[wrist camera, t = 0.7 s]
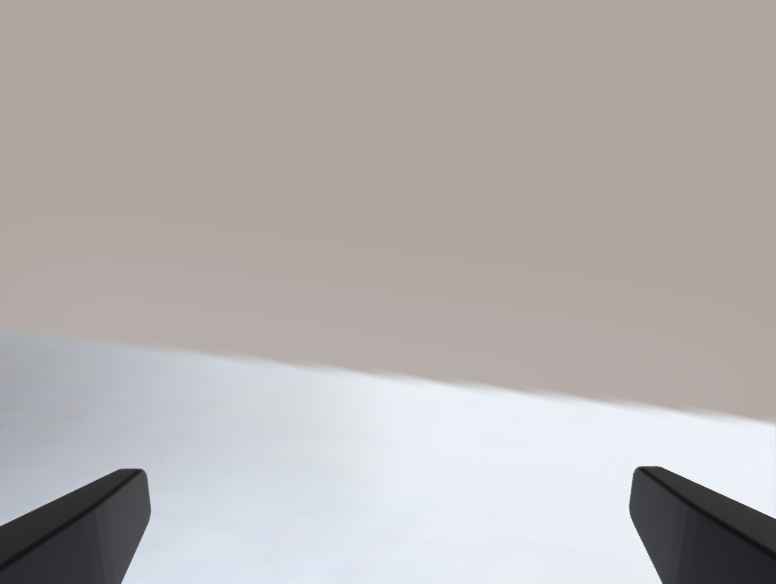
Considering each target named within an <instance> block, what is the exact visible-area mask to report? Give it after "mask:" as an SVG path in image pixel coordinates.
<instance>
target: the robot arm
mask: <svg viewBox="0 0 776 584" xmlns="http://www.w3.org/2000/svg"><path fill="white" fill-rule="evenodd" d="M629 511H630V516H631V519H632V522H633V524H634V526H635V528H636V530H637V532H638V534H639V536H640V538H641V540H642V542H643V544H644V546H645V548H646V551H647V553H648V555H649V557H650V559H651V561H652V563H653V565H654V567H655V569H656V571H657V573H658V575H659V577H660V579H661V582H662V584H776V519H775V518H772V517H770V516H768V515H766V514H763V513H761V512H759V511H757V510H755V509H752V508H750V507H748V506H746V505H744V504H741V503H739V502H737V501H735V500H733V499H730V498H728V497H726V496H724V495H722V494H719V493H717V492H715V491H713V490H711V489H708V488H706V487H704V486H702V485H700V484H697V483H695V482H693V481H691V480H689V479H686V478H684V477H682V476H680V475H677V474H675V473H673V472H671V471H669V470H666V469H664V468H662V467H658V466H641V467H638V468H636V469H635V471H634V473H633V479H632V487H631V495H630V503H629ZM150 514H151V505H150V496H149V488H148V479H147V474H146V472H145V471H144V470H143V469H119V470H117V471H115V472H113V473H110V474H108V475H106V476H104V477H102V478H100V479H98V480H96V481H94V482H92V483H90V484H88V485H85V486H83V487H81V488H79V489H77V490H75V491H73V492H71V493H69V494H67V495H65V496H62V497H60V498H58V499H56V500H54V501H52V502H50V503H48V504H46V505H44V506H42V507H40V508H37V509H35V510H33V511H31V512H29V513H27V514H25V515H23V516H21V517H19V518H17V519H15V520H12V521H10V522H8V523H6V524H4V525H2V526H0V584H121V583H122V581H123V579H124V576H125V574H126V572H127V570H128V567H129V565H130V563H131V561H132V558H133V556H134V554H135V552H136V550H137V547H138V545H139V543H140V541H141V538H142V536H143V534H144V532H145V529H146V527H147V525H148V522H149V519H150Z"/></svg>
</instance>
